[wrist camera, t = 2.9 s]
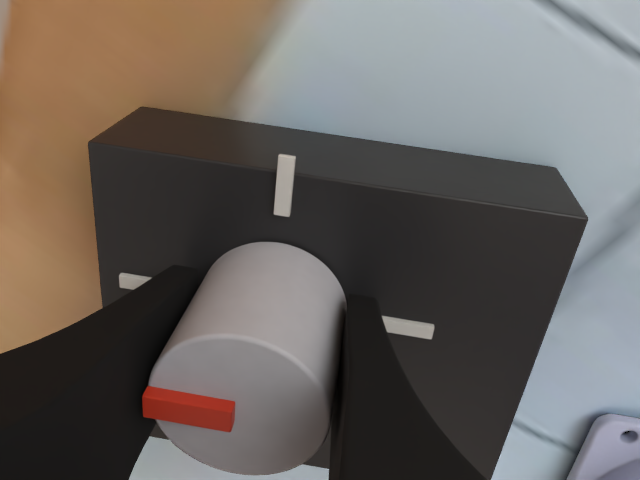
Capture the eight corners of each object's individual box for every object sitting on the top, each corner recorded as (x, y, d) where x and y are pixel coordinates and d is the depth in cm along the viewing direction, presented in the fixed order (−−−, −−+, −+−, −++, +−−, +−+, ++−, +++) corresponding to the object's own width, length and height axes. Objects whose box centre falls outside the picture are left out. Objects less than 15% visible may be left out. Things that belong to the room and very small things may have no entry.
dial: (357, 253, 13) (341, 366, 10) (337, 372, 15) (317, 504, 12) (203, 228, 13) (135, 330, 10) (202, 349, 15) (143, 470, 12)
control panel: (561, 152, 15) (598, 204, 12) (473, 420, 19) (485, 503, 16) (140, 90, 15) (81, 126, 12) (151, 363, 20) (110, 434, 17)
